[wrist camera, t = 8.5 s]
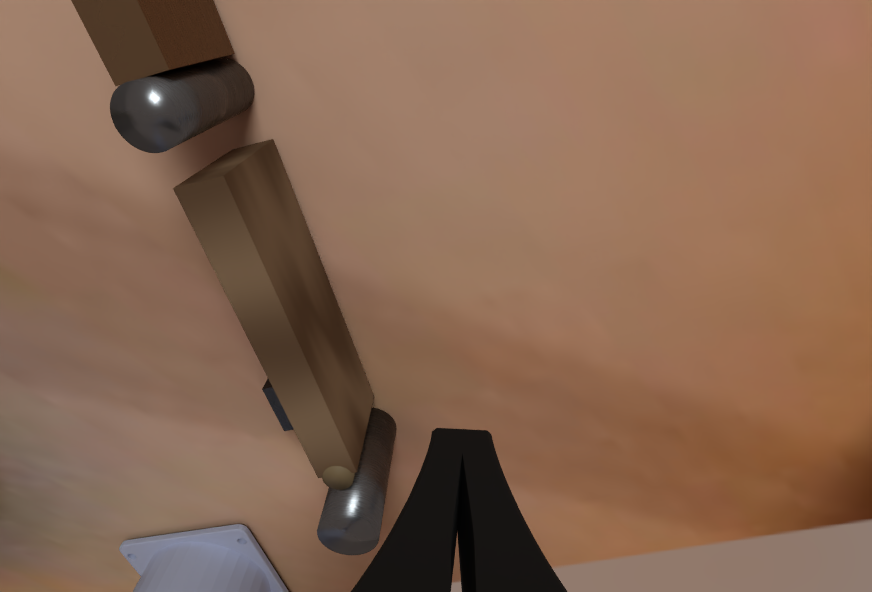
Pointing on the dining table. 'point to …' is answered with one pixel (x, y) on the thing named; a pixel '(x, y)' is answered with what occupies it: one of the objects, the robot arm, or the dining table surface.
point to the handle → (283, 302)
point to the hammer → (187, 117)
